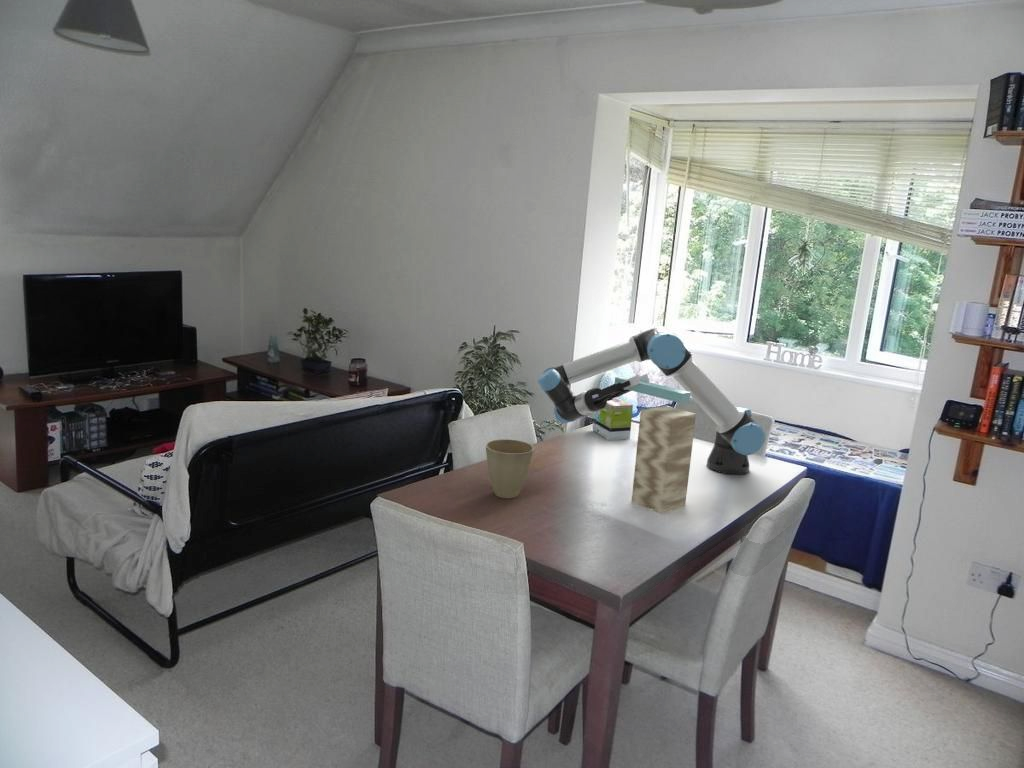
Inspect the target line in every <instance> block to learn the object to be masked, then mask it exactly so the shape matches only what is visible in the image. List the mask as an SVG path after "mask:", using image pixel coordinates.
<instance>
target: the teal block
mask: <svg viewBox="0 0 1024 768" xmlns="http://www.w3.org/2000/svg"><path fill="white" fill-rule="evenodd" d="M630 378H631V377H628V376H624V375H621V376H615V377H614V384H618V383H621V384H622V382H623V381H625V380H627V379H630ZM640 382H641V383H640V384H638V385H636V386H633V387H631V388H629V389H627V390H631V391H630V392H632V391H633V392H636V393H639V394H644V395H648V396H651V397H656V398H659V399H662V400H668V401H672V402H674V403H679V404H684V403H685V404H687V403H690V400H691V396H690V392H687V391H686V390H683V389H678V388H675V387H670V386H666V385H663V384H662V385H661V384H659V383H654V382H651V381H650V382H646V381H641V380H640ZM623 389H624V388H623Z"/></svg>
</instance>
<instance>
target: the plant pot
mask: <svg viewBox="0 0 1024 768" xmlns="http://www.w3.org/2000/svg"><path fill="white" fill-rule="evenodd" d="M533 453H534V446H533V445H532V444H531V443H529V442H526V441H522V440H519V439H517V440H516V439H508V438H507V439H506V438H504V439H502V438H501V439H494V440H491V441H487V442H486V444H485V454H486V463H487V468H488V469H487V470H488V474H489V477H490V478H489V479H490V483H491V487H492V490H493V492H494V495H495V496H496V497H499V498H501V499H513V498H517V497H518V496H519V494H520V492H521V489H522V487H523V485H524V483H525V481H526V478H527V475H528V471H529V469H530V466H531V461H532V457H533Z"/></svg>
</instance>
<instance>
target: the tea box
mask: <svg viewBox="0 0 1024 768" xmlns="http://www.w3.org/2000/svg"><path fill="white" fill-rule="evenodd" d="M633 408H634V405H633V404H631V403H629V402H628V401H625V400H623V399H621V398H620V397H616V398H613V399H612V400H610V401H607V404H606V406H605V407H604V408H603V409H601V410H598V411H595V412H593V418H592V419H593V420H592V431H594V432H595V433H597V434H599V435H600V436H602V437H603V438H606V439H607V440H608V441H614V440H615V441H616V440H617V441H618V440H620V441H621V440H629V439H631V430H632V429H631V428H632V419H633Z"/></svg>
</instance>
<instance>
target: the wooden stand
mask: <svg viewBox="0 0 1024 768" xmlns="http://www.w3.org/2000/svg"><path fill="white" fill-rule="evenodd" d="M696 416H697V413H695V412H691V411H686V410H683V409H679V408H676V407H671V406H667V405H659V406H654V407H649V408H643V409H640V413H639V424H638V433H637V434H638V436H637V444H636V453H635V454H636V455H635V465H634V473H633V481H632V493H631V494H632V495H631V503H634V504H636V505H638V506H641V507H644V508H647V509H648V510H651V509H652V511H654V512H656V511H657V513H659V514H663V515H664V514H665V513H669V512H671V510H672V511H675V510H677V508H678V509H680V508H683V507H685V506H686V502H687V494H688V485H689V477H690V469H691V461H692V452H693V445H694V444H693V441H694V434H695V425H696V418H697V417H696Z"/></svg>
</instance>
